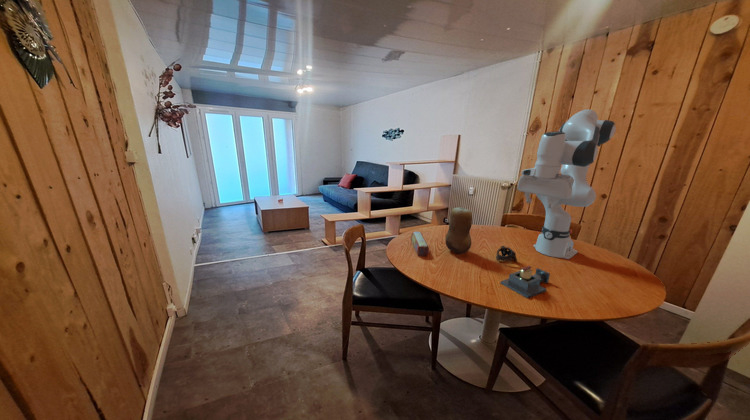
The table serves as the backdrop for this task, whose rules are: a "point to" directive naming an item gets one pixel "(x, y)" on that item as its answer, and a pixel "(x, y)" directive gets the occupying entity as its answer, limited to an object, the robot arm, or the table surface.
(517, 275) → the socket fitting
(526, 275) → the brass valve
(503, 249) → the black mechanical part
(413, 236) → the snack package
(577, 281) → the table surface
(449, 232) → the butternut squash
